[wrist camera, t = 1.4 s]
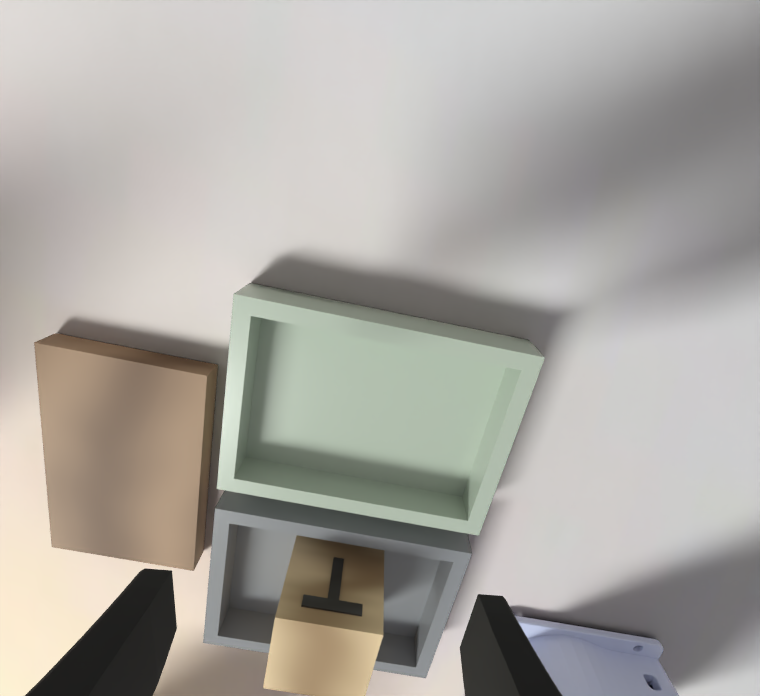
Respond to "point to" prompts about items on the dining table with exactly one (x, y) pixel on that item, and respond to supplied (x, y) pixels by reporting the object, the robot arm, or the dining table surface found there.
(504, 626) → the robot arm
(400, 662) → the gray tray
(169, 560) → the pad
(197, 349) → the dining table surface
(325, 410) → the sage tray
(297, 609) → the letter cube
